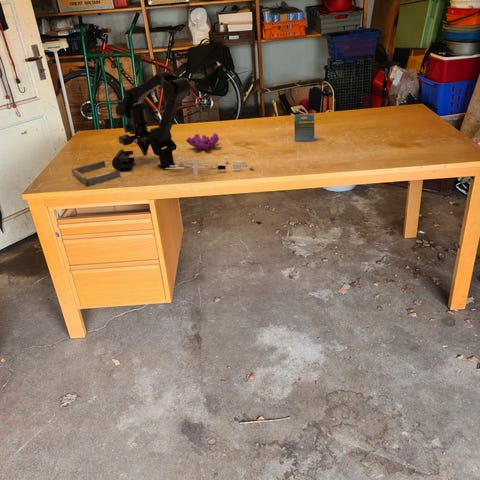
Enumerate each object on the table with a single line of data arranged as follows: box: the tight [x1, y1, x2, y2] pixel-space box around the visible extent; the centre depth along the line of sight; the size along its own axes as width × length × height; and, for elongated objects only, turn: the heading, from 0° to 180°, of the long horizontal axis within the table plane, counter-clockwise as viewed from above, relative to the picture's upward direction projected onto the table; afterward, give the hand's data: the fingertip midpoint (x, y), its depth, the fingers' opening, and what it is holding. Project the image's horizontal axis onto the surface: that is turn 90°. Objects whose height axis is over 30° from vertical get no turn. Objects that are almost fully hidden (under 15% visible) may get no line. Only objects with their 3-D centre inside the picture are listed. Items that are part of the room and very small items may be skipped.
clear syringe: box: [165, 156, 254, 176], centre depth 187 cm, size 6×35×12 cm
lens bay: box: [71, 160, 121, 187], centre depth 188 cm, size 17×14×3 cm
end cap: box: [111, 148, 136, 173], centre depth 193 cm, size 10×7×7 cm
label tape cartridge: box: [294, 113, 315, 143], centre depth 208 cm, size 9×4×12 cm, turn 84°
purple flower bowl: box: [186, 133, 220, 150], centre depth 208 cm, size 11×15×10 cm
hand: (145, 155), depth 198 cm, fingers closed
